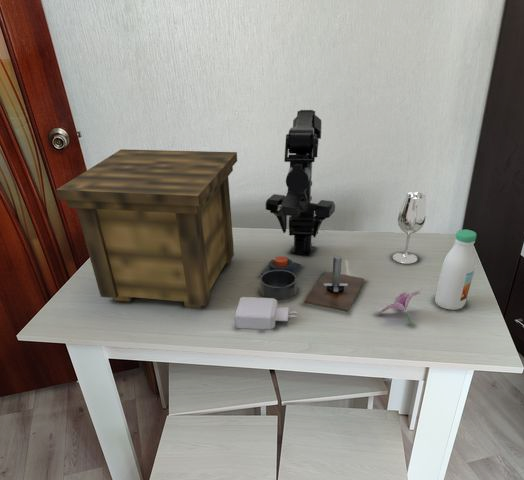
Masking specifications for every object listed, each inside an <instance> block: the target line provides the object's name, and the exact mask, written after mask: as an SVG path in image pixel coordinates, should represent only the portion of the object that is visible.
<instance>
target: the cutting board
mask: <svg viewBox="0 0 524 480" xmlns="http://www.w3.org/2000/svg"><path fill="white" fill-rule="evenodd" d="M365 280H366V279H365V278H364V277H360V276H353V275H347V274H343V273H341V274H340V283H343V284H348V286H344V291H343V292H341V293H337V294H335V293H330V292H328V291H327V286H324V283H331V282H332V272H330V271H324V272H323V273H322V275H321V277H320V278H319V279H318V281H317V282H316V284H315V285H314V287H312V289H311V291H310V292H309V294H308V295H307V297H306V298H305V299H304V301H303V303H304V304H307V305H312V306H316V307H321V308H327V309H332V310H336V311H342V312H346V313H347V312H348V311H349V309H350V307H351V305H353V304H354V301H355V300H356V298H357V296H358V294H359V292H360V290H361V289H362V287H363V286H364V284H365Z"/></svg>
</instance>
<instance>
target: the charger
mask: <svg viewBox="0 0 524 480" xmlns="http://www.w3.org/2000/svg"><path fill="white" fill-rule="evenodd" d="M296 314H298V311H290V307H281V306H278V300H276V299H274V298H266V297H254V296H253V297H252V296H241V297H240V298H239V301H238V305H237V308H236V310H235V315H234V316H235V317H234V318H235V328H236V329H254V330H272V329H274V328H276V322H288V321H289V318H297V315H296Z"/></svg>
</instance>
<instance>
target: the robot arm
mask: <svg viewBox="0 0 524 480" xmlns="http://www.w3.org/2000/svg"><path fill="white" fill-rule="evenodd" d="M296 115H297V116H296V117H295V118H294V119H293V121H292V127H290V128H289V130H288V133H286V134H285V145H284V158H283V159H284V163H289V168H288V172H287V174H286V178H285V185H286V187H287V191H286V195H285V194H277V193H276V194H275V193H274V194H272V195H271V196H270V197H268V198H267V199H266V200H265V210H266V211H269V212H270V214H273V215H274V216H275V217H276V218H277V220H278V222H279V225H280V229H281V230H282V233H283V234H286V232H287V228H288V235H289V236H293V247H292V248H291V250H290V251H289V253H290V254H293V255H294V254H295V255H299V256H300V255H301V256H305V257H308V256H310V255H311V254H312V252H313V251H314V250H315V248H316V247H315V246H313V245H312V238H316V237H317V235H319V230H320V228H321V225H322V223H323V222H324V220H326V219H328V218H331V216H332V215H333V214H334V213H335V211H336V204H335V202H334V201H333V200H327V199H326V200H324V199H321V200H319V202H318V203H313V202H311V201H312V200H313V196H312V186H313V181H312V176H313V163H315V160H316V158H318V154H319V153H318V151H319V140H321V139H322V119H321V118H319V117H318V116H317V115H316V110H313V109H300V110H297V114H296ZM288 216H289V217H288ZM287 217H288V219H287ZM287 221H288V223H287ZM287 224H288V227H287Z"/></svg>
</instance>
